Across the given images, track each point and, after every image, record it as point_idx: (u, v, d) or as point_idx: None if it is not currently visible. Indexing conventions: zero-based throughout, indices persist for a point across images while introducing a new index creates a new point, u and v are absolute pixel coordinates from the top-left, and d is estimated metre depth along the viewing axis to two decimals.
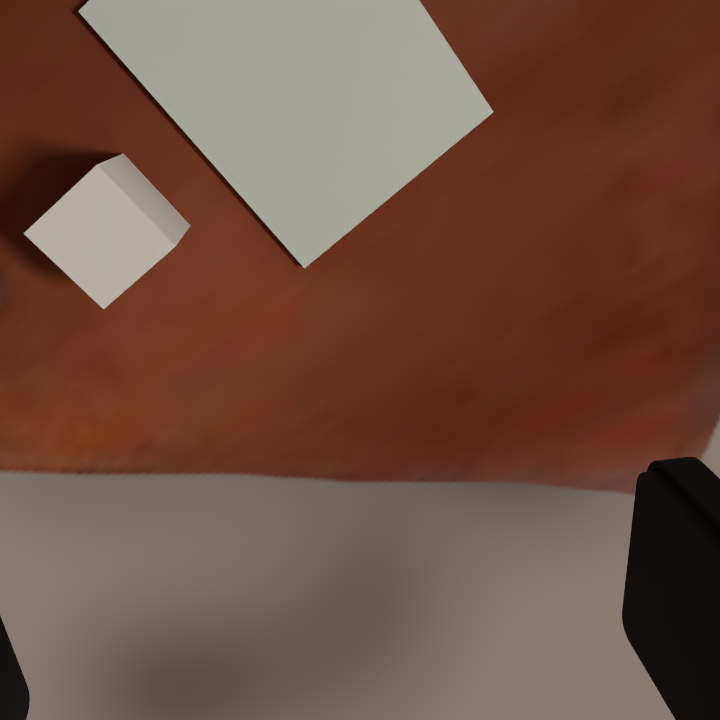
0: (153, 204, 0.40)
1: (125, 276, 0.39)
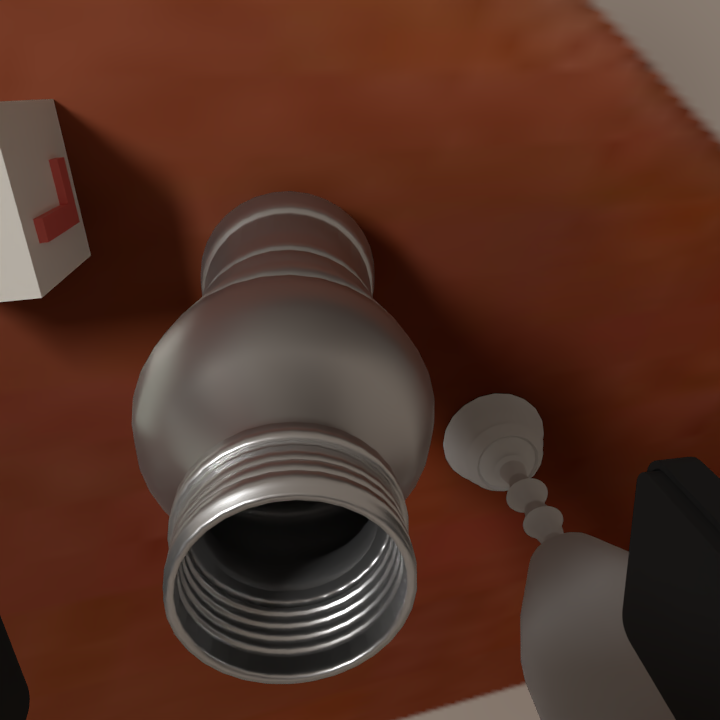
0: None
1: None
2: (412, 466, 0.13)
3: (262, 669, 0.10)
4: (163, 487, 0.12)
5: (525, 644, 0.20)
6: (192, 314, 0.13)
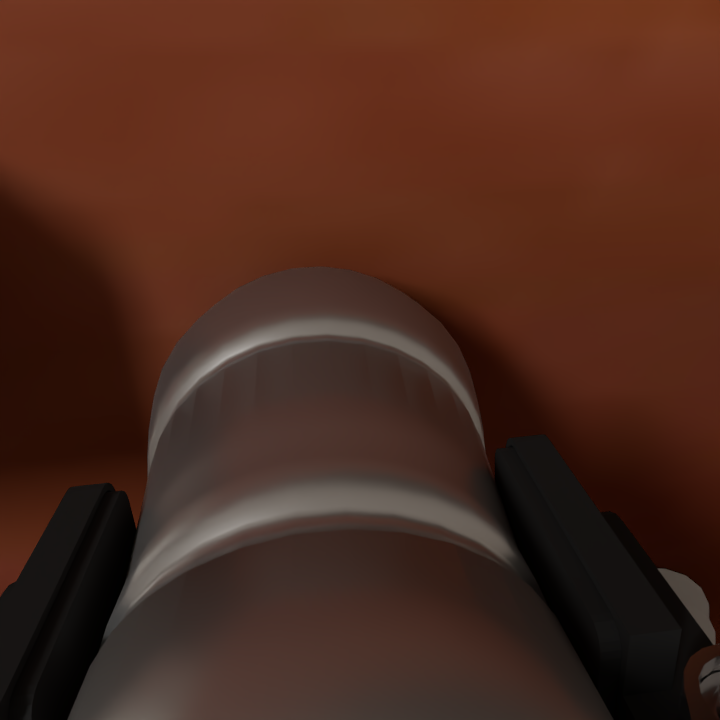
0: None
1: None
2: None
3: None
4: None
5: None
6: None
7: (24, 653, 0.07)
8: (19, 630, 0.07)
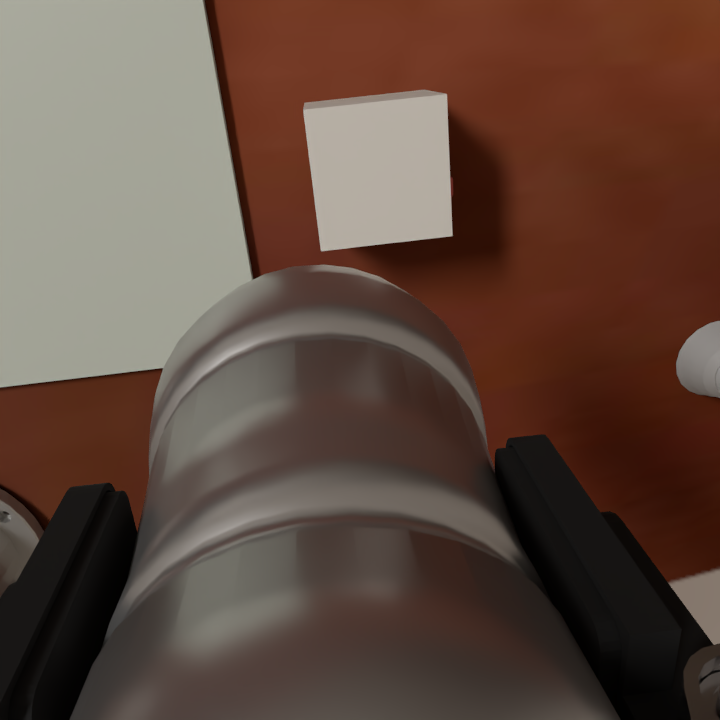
0: None
1: (388, 115, 0.27)
2: None
3: None
4: None
5: None
6: None
7: (24, 652, 0.07)
8: (19, 630, 0.07)
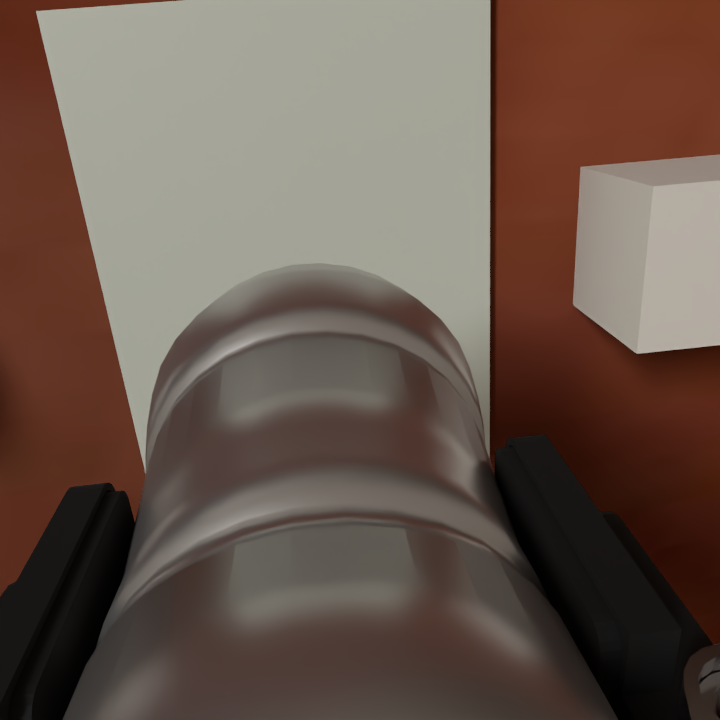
0: (610, 243, 0.25)
1: None
2: None
3: None
4: None
5: None
6: None
7: (24, 653, 0.07)
8: (19, 630, 0.07)
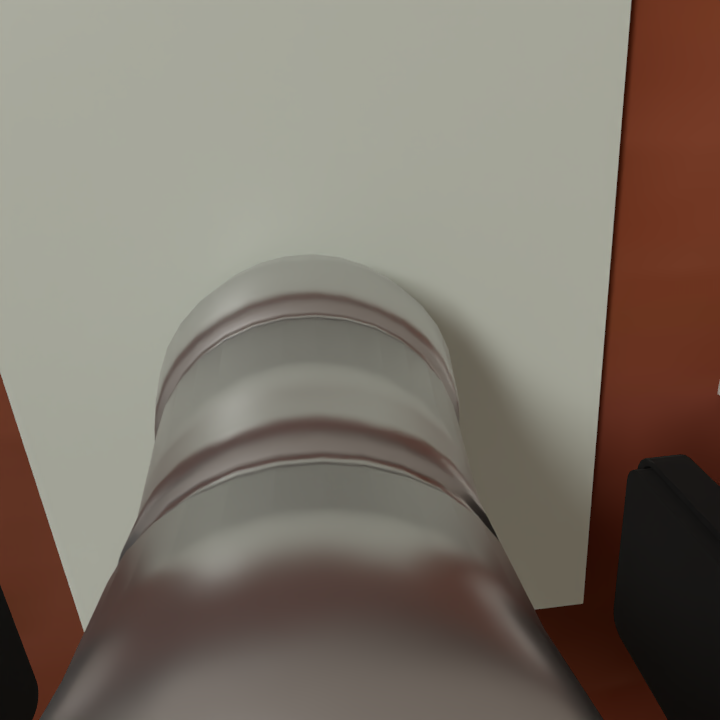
0: None
1: None
2: None
3: None
4: None
5: None
6: None
7: None
8: None
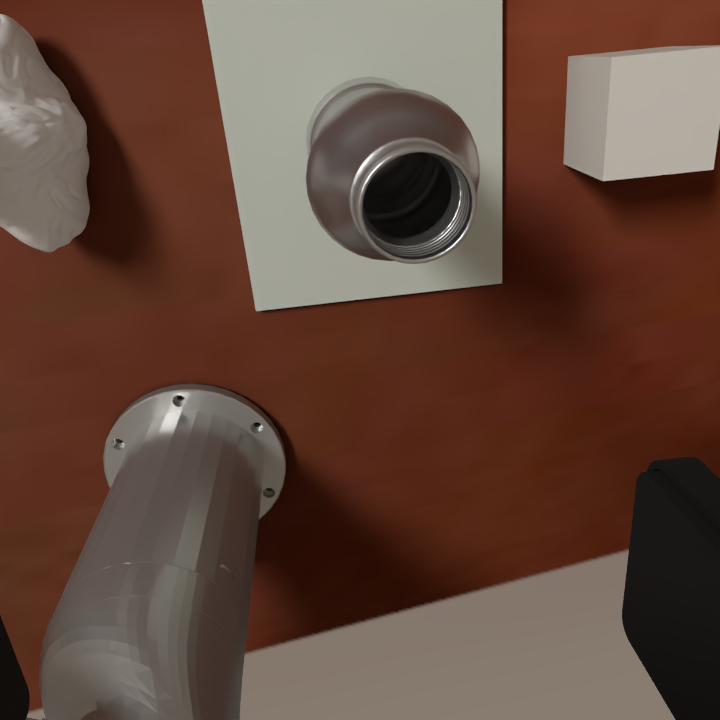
0: (587, 107, 0.36)
1: (680, 63, 0.32)
2: None
3: (399, 257, 0.21)
4: (333, 196, 0.23)
5: None
6: (344, 106, 0.23)
7: None
8: None
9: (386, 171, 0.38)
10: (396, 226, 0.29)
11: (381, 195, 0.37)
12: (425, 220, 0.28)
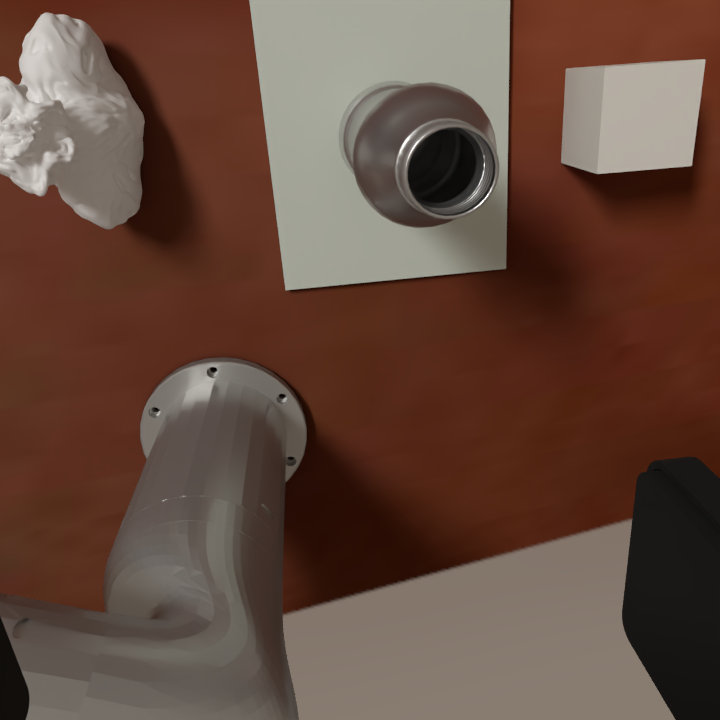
0: (583, 111, 0.41)
1: (662, 73, 0.38)
2: None
3: (435, 213, 0.25)
4: (378, 168, 0.28)
5: None
6: (387, 96, 0.28)
7: None
8: None
9: None
10: None
11: None
12: (447, 197, 0.33)
